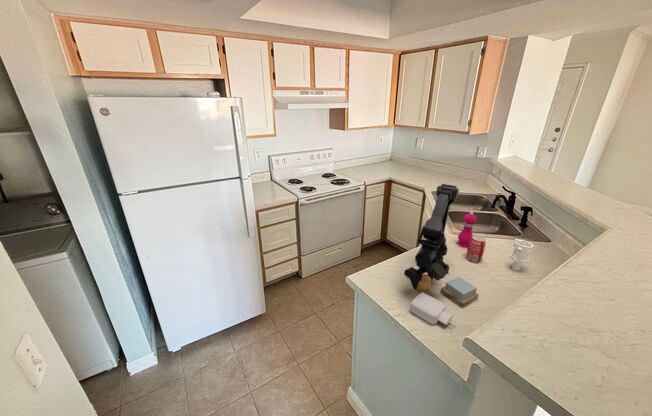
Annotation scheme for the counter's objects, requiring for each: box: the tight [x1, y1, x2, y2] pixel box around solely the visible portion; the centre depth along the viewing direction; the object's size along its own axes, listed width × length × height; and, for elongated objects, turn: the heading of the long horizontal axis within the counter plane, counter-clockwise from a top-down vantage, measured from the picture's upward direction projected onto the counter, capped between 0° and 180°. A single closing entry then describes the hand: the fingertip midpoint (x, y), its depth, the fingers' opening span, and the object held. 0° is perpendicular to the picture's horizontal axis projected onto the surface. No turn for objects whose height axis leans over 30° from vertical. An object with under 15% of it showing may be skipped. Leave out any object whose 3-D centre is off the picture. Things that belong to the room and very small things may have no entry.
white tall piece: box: [509, 238, 534, 272], centre depth 124 cm, size 7×7×15 cm
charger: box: [409, 292, 458, 326], centre depth 97 cm, size 5×9×15 cm
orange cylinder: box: [415, 273, 432, 294], centre depth 112 cm, size 6×6×5 cm
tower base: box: [439, 285, 480, 309], centre depth 108 cm, size 10×10×3 cm
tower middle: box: [444, 276, 478, 300], centre depth 107 cm, size 8×8×3 cm
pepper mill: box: [457, 211, 477, 249], centre depth 143 cm, size 7×7×20 cm
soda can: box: [465, 235, 487, 263], centre depth 131 cm, size 7×7×12 cm
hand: (422, 285), depth 112 cm, fingers open, 9 cm apart
